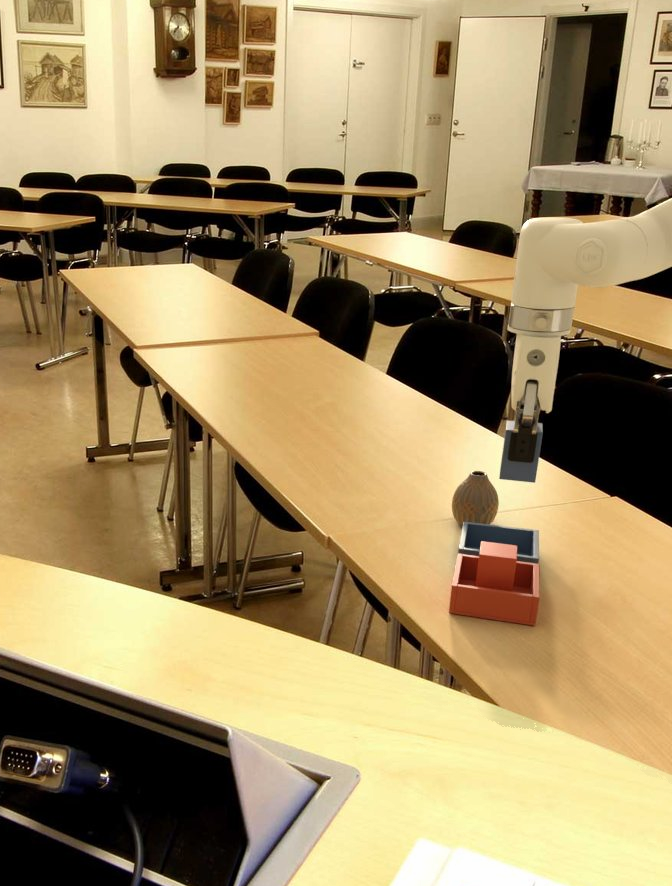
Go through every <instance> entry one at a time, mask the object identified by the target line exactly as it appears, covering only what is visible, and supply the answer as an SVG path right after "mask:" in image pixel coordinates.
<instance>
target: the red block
mask: <svg viewBox="0 0 672 886" xmlns="http://www.w3.org/2000/svg"><path fill="white" fill-rule="evenodd" d="M516 562H517V545H509V544H500V543H492V542H484V541H481V546H480V553H479V561H478V569H477V577H476V585H475V587H482V588H489V589H497V590H504V591H511V592H512V589H513V582H514V576H515V569H516Z"/></svg>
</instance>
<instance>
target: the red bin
mask: <svg viewBox="0 0 672 886" xmlns="http://www.w3.org/2000/svg"><path fill="white" fill-rule="evenodd" d="M478 561H479V556H474V555H466V554H458V553H457V556H456V560H455V566H454V572H453V577H452V583H451V589H450V599H449V606H448V607H449V608H448V613H449V614H455V615H461V616H467V617H474V618H480V619H487V620H493V621H500V622H505V623H506V622H508V623H512V624H513V623H514V624H521V625H527V626H533V627H534V626H536V622H537V621H536V620H537V615H538V610H539V602H540V563H538V564H536V563H534V564H533V563H528V562H521V561H517V562H516V569H515V576H514V582H513V589H512V592H511V591H504V590H497V589H489V588H482V587H475V585H476V577H477V569H478Z"/></svg>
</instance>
